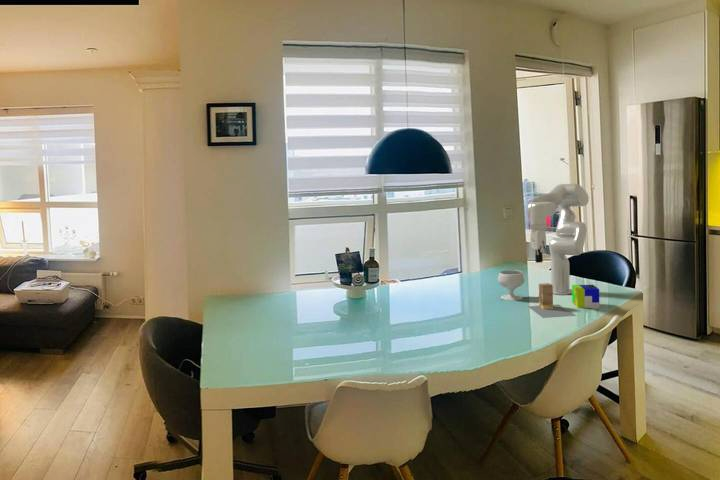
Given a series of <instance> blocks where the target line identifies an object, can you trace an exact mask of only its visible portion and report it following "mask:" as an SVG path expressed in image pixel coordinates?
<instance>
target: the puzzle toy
mask: <svg viewBox="0 0 720 480" xmlns="http://www.w3.org/2000/svg"><path fill="white" fill-rule="evenodd" d="M571 290H572V293H571V295H572V296H571V297H572V298H571V302H572V303H573V305H574V306H575V307H576V308H577V309H592V310H594V309H595V310H599V309H600V289H599V288H598V287H597V286H595V285H594V284H572V285H571Z"/></svg>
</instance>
